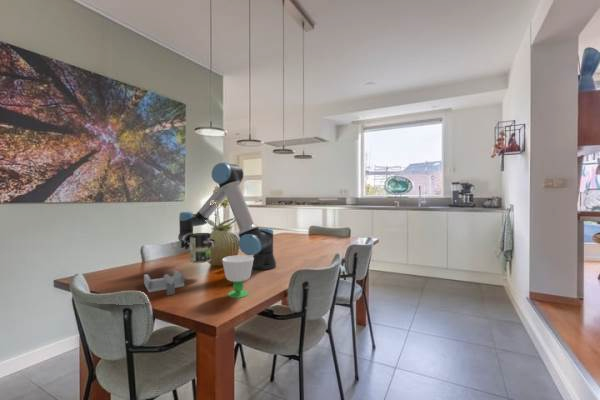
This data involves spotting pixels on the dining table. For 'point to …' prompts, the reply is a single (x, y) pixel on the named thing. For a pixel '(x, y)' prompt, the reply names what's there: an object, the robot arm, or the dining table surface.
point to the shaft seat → (164, 283)
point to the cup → (237, 273)
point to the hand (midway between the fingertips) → (202, 245)
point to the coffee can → (200, 247)
